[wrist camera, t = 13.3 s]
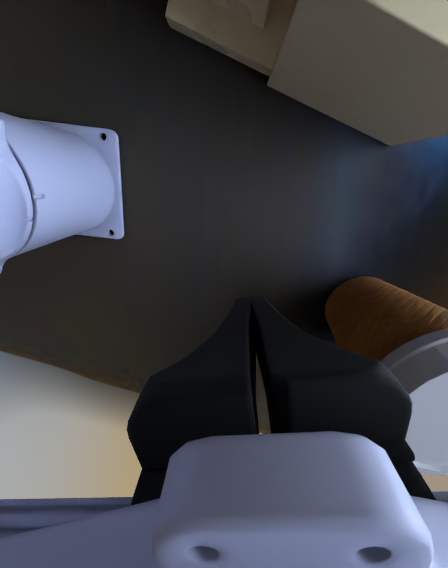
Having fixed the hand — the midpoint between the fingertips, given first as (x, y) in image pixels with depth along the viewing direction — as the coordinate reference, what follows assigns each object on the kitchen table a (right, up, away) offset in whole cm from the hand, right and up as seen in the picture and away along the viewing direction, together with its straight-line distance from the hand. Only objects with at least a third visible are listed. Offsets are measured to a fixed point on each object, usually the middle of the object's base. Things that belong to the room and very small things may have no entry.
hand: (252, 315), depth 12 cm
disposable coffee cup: (+12, -1, +11) cm, 16 cm away
